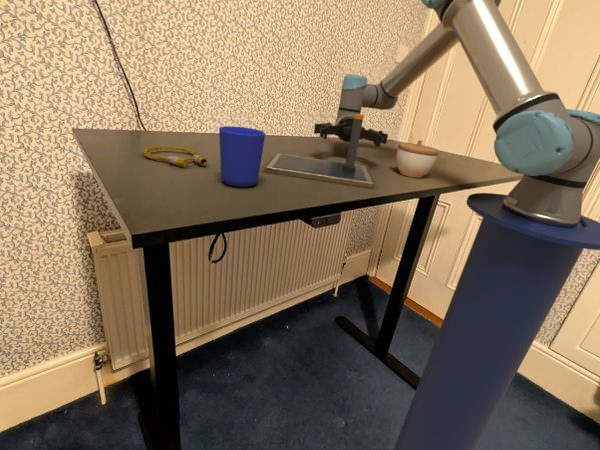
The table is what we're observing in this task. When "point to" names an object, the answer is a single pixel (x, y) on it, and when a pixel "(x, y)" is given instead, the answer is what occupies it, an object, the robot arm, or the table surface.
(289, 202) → the table surface
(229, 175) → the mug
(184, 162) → the extension cord
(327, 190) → the table surface
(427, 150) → the trinket box
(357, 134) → the stylus
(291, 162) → the tablet
